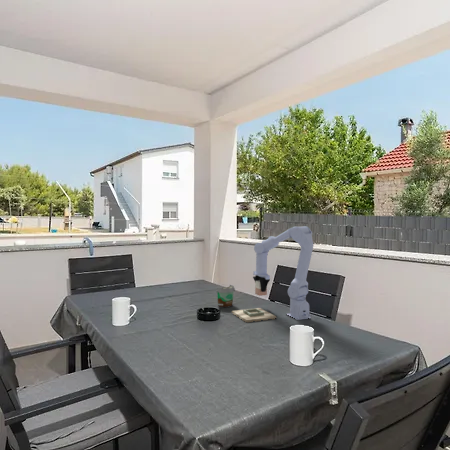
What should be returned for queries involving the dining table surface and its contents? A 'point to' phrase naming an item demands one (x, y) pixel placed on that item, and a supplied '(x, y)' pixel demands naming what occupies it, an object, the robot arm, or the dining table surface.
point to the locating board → (253, 314)
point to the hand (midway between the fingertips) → (261, 290)
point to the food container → (225, 296)
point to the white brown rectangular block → (259, 289)
